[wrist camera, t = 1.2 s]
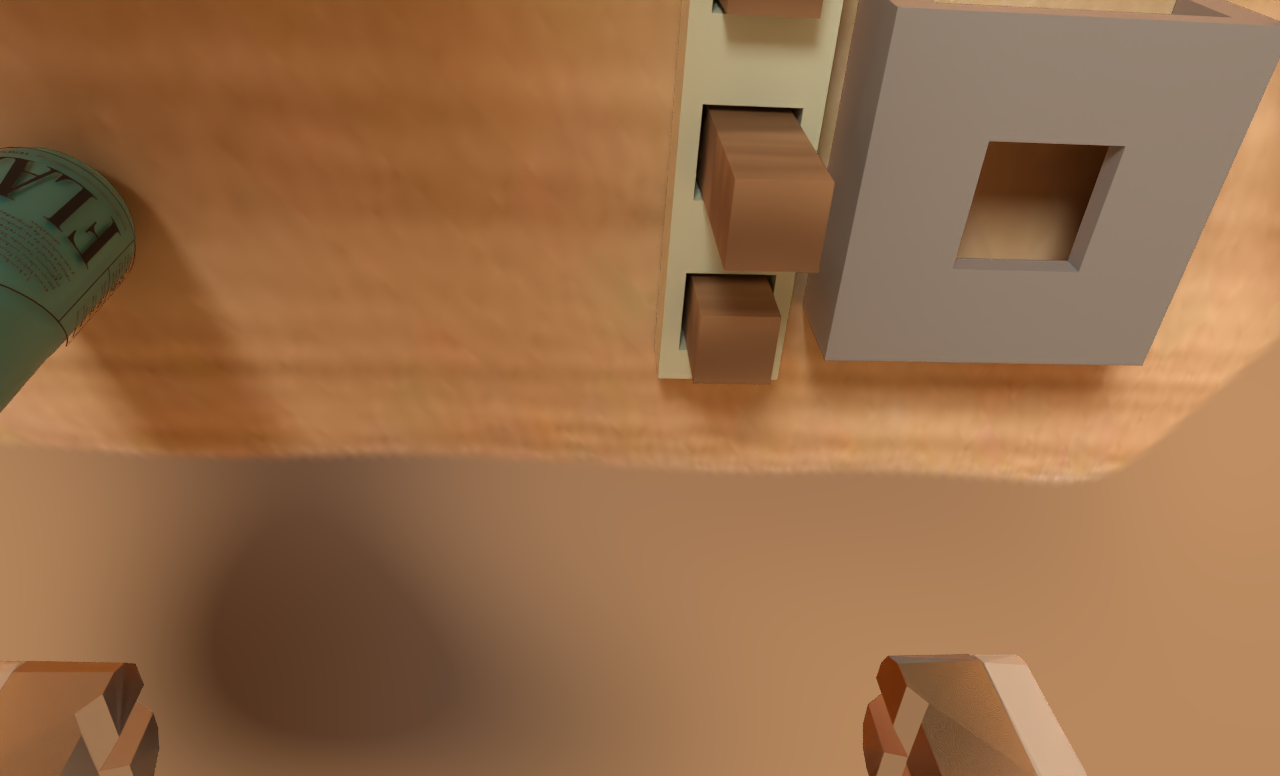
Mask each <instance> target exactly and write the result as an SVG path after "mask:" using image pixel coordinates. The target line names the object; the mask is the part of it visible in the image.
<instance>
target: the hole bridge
mask: <svg viewBox="0 0 1280 776" xmlns="http://www.w3.org/2000/svg"><path fill="white" fill-rule="evenodd" d="M1279 58H1280V21H1278V20H1275V19H1272V18H1270V17H1267V16H1265V15H1262V14H1259V13H1257V12H1254V11H1252V10H1249V9H1246V8H1244V7H1241V6H1239V5H1236V4H1233V3H1231V2H1228V1H1225V0H1177V1H1176V4H1175V7H1174V10H1173V12H1172V14H1152V13H1132V12H1112V11H1092V10H1072V9H1052V8H1032V7H1012V6H992V5H972V4H952V3H935V2H933V1H932V0H859V3H858V8H857V14H856V19H855V24H854V30H853V35H852V41H851V46H850V52H849V57H848V63H847V68H846V73H845V79H844V84H843V90H842V95H841V101H840V106H839V111H838V117H837V122H836V128H835V133H834V139H833V144H832V150H831V155H830V160H829V166H828V172H829V174H830V175H831V177H832V179H833V180H834V182H835V185H834V190H833V196H832V201H831V206H830V211H829V217H828V222H827V227H826V233H825V238H824V243H823V248H822V254H821V259H820V264H819V269H818V273H809V275H808V280H807V286H806V291H805V296H804V302H803V309H804V311H805V314H806V316H807V319H808V321H809V323H810V326H811V328H812V331H813V333H814V336H815V338H816V341H817V343H818V345H819V348H820V350H821V353H822V355H823V358H824V360H835V361H895V362H955V363H1016V364H1076V365H1136V366H1142V365H1143V363H1144V360H1145V358H1146V356H1147V354H1148V351H1149V349H1150V347H1151V345H1152V343H1153V340H1154V338H1155V336H1156V334H1157V331H1158V329H1159V327H1160V325H1161V322H1162V320H1163V318H1164V316H1165V313H1166V311H1167V309H1168V307H1169V305H1170V302H1171V300H1172V298H1173V296H1174V293H1175V291H1176V289H1177V287H1178V284H1179V282H1180V280H1181V278H1182V275H1183V273H1184V271H1185V269H1186V266H1187V264H1188V262H1189V260H1190V258H1191V255H1192V253H1193V251H1194V249H1195V246H1196V244H1197V242H1198V240H1199V237H1200V235H1201V233H1202V231H1203V228H1204V226H1205V224H1206V222H1207V220H1208V217H1209V215H1210V213H1211V211H1212V208H1213V206H1214V204H1215V202H1216V199H1217V197H1218V195H1219V193H1220V190H1221V188H1222V186H1223V184H1224V181H1225V179H1226V177H1227V175H1228V173H1229V170H1230V168H1231V166H1232V164H1233V161H1234V159H1235V157H1236V155H1237V152H1238V150H1239V148H1240V146H1241V143H1242V141H1243V139H1244V137H1245V134H1246V132H1247V130H1248V128H1249V126H1250V123H1251V121H1252V119H1253V117H1254V114H1255V112H1256V110H1257V108H1258V105H1259V103H1260V101H1261V99H1262V96H1263V94H1264V92H1265V90H1266V88H1267V85H1268V83H1269V81H1270V79H1271V76H1272V74H1273V72H1274V70H1275V67H1276V65H1277V63H1278V61H1279ZM989 141H999V142H1026V143H1053V144H1080V145H1107V146H1109V148H1108V151H1107V153H1106V156H1105V159H1104V162H1103V164H1102V167H1101V170H1100V173H1099V175H1098V178H1097V181H1096V184H1095V186H1094V189H1093V192H1092V195H1091V198H1090V200H1089V203H1088V206H1087V209H1086V211H1085V214H1084V217H1083V220H1082V222H1081V225H1080V228H1079V231H1078V233H1077V236H1076V239H1075V242H1074V244H1073V247H1072V250H1071V253H1070V255H1069V258H1068V261H1055V260H1017V259H979V258H956V256H957V253H958V249H959V246H960V242H961V239H962V235H963V232H964V228H965V225H966V221H967V218H968V214H969V211H970V207H971V204H972V200H973V197H974V193H975V190H976V186H977V183H978V179H979V175H980V172H981V168H982V165H983V161H984V158H985V154H986V151H987V147H988V144H989Z"/></svg>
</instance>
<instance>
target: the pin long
mask: <svg viewBox="0 0 1280 776" xmlns="http://www.w3.org/2000/svg"><path fill="white" fill-rule="evenodd" d="M696 176H697V179H698V183H699V186H700V189H701V193H702V196H703V200H704V203H705V207H706V210H707V214H708V217H709V221H710V224H711V227H712V231H713V234H714V238H715V241H716V245H717V248H718V252H719V255H720V259H721V262H722V265H723V269H724V270H726V271H767V272H807V273H818V269H819V264H820V259H821V254H822V248H823V243H824V238H825V233H826V227H827V222H828V217H829V211H830V206H831V201H832V196H833V190H834V185H835V182H834V180H833V179H832V177H831V175H830V174H829V172H828V170H827V169H826V167H825V165H824V164H823V162H822V160H821V159H820V157H819V156H818V154H817V152H816V151H815V149H814V147H813V146H812V144H811V142H810V141H809V139H808V137H807V136H806V134H805V132H804V131H803V129H802V127H801V126H800V124H799V123H798V121H797V119H796V118H795V116H794V114H793V113H792V111H791V109H790V108H785V107H760V106H734V105H709V104H703V107H702V117H701V127H700V138H699V148H698V158H697V168H696Z"/></svg>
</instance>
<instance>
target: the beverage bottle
mask: <svg viewBox="0 0 1280 776" xmlns="http://www.w3.org/2000/svg"><path fill="white" fill-rule="evenodd" d="M6 148H14V149H9V150H3V151H0V413H1V411H2V410H3V409H4V408H5V407H6V406H7V404H8V403H9V402H10V401H11V400H12V399H13V397H14V396H15V395H16V394H17V393H18V392H19V390H20V389H21V388H22V387H23V386H24V385H25V383H26V382H27V381H28V380H29V379H30V378H31V376H32V375H33V374H34V373H35V372H36V371H37V369H38V368H39V367H40V366H41V365H42V364H43V362H44V361H45V360H46V359H47V358H48V357H49V356H51V355H52V354H53V353H54V352H55V351H56V350H57V349H58V348H59V346H60V345H61V344H62V343H63V342H64V341H65V340H66V339H67V343H68V336H69V335H70V334H71V333H72V332H73V331H74V330H75V329H76V327H77V326H78V325H79V324H80V323H81V324H82V322H83V319H84V318H86V316H87V315H88V314H89V313H90V312H93V311H94V310H93V311H92V309H93V308H94V309H95V306H96V305H97V304H98V303H99V304H100V302H101V303H102V301H103V300H102V301H100V300H101V299H102V298H104V296H105V295H106V294H108V291H109V290H110V289H111V290H113V289H114V290H115V288H116V286H115V284H116V282H117V283H118V280H119V279H121V277H122V278H123V276H124V275H123V274H124V273H125V271H126V272H127V268H128V267H130V266H129V265H130V264H131V259H132V255H133V250H134V245H135V230H134V225H133V220H132V217H131V215H130V212H129V210H128V208H127V206H126V204H125V202H124V200H123V199H122V197H121V196H120V194H119V193H118V192H117V190H116V189H115V188H114V187H113V186H112V185H111V184H110V183H109V182H108V181H107V180H106V179H105V178H104V177H103V176H102V175H101V174H99V173H98V172H97V171H96V170H94V169H93V168H91V167H90V166H88V165H87V164H85V163H83V162H81V161H79V160H77V159H75V158H73V157H71V156H68V155H66V154H63V153H60V152H57V151H53V150H49V149H44V148H35V147H6ZM0 149H3V148H0ZM135 248H136V247H135ZM134 258H135V253H134ZM133 263H134V260H133ZM132 266H133V265H132ZM131 268H132V267H131ZM128 271H129V268H128ZM130 271H131V270H130ZM129 273H130V272H129ZM122 275H123V276H122ZM127 276H128V275H127ZM124 277H125V276H124ZM124 280H125V279H124ZM122 281H123V280H122ZM119 282H121V281H119ZM116 285H117V284H116ZM113 286H115V288H114V287H113ZM112 287H113V289H112ZM118 287H119V286H118ZM118 287H117V288H118ZM111 295H112V294H111ZM111 295H110V296H111ZM106 296H107V295H106ZM105 298H106V297H105ZM99 301H100V302H99ZM104 301H105V300H104ZM104 303H105V302H104ZM104 303H103V304H104ZM101 306H102V305H101ZM98 307H99V305H98ZM98 307H97V308H98ZM97 311H98V310H97ZM97 311H96V312H97ZM90 315H91V313H90ZM90 315H89V316H90ZM90 319H91V318H90ZM90 319H89V320H90ZM80 327H81V326H80ZM80 327H79V328H80ZM83 327H84V326H83ZM83 327H82V328H83ZM75 331H76V330H75ZM77 334H78V333H77ZM77 334H76V335H77ZM76 335H75V336H76ZM73 336H74V335H73ZM73 336H72V337H73ZM69 343H70V342H69ZM69 343H68V344H69ZM66 346H67V344H66Z"/></svg>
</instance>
